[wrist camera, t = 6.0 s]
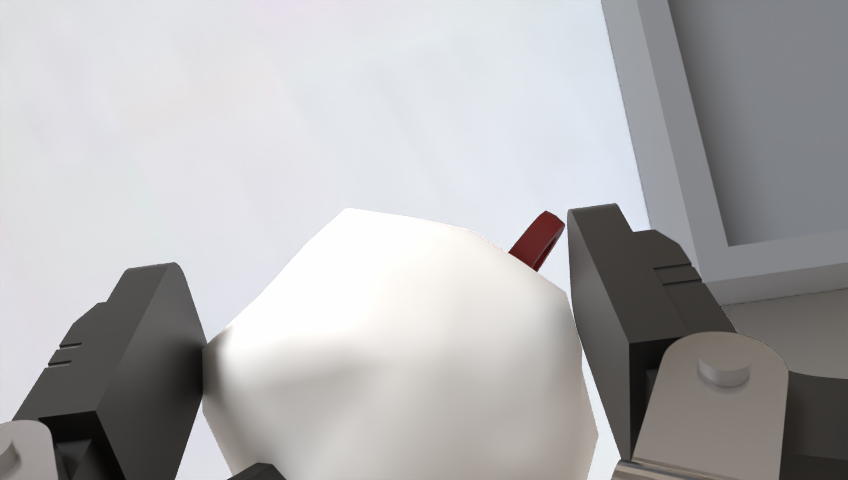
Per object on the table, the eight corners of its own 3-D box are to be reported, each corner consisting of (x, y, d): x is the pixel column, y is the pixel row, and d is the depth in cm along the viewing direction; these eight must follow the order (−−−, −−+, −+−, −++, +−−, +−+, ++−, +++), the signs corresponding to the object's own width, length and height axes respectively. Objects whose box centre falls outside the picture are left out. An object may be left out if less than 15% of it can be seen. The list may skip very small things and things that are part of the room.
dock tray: (669, 313, 23) (703, 283, 19) (584, -76, 27) (597, -166, 23) (1044, 260, 22) (1157, 218, 18) (901, -130, 26) (969, -232, 22)
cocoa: (517, 216, 19) (593, -223, 8) (662, 452, 17) (1059, 338, 6) (157, 404, 18) (-381, 222, 7) (268, 679, 16) (-227, 1101, 5)
